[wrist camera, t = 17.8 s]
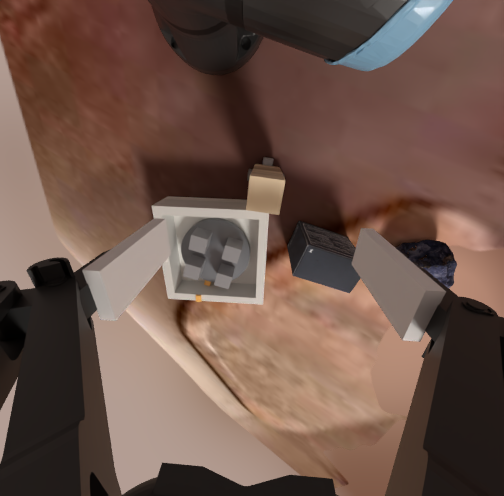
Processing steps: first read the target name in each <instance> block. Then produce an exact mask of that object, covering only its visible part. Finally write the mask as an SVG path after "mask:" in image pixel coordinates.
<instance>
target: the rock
mask: <svg viewBox="0 0 504 496" xmlns="http://www.w3.org/2000/svg"><path fill="white" fill-rule="evenodd" d="M415 246H417V249H416V250H415V251H412V250H411V251H408V250H409V249H411V248H412V247H413V248H416V247H415ZM396 249H397V250H398V251H400V252H401V253H402V254H403V255H404V256H405V257H407V258H408V259H409V260H410V261H411V262H412V263H414V264H415V265H418V266H419V267H421V268H423V269H425V270H427V271H428V272H429V273H430V274H432V275H433V276H434V278H437V279H438V280H439V281H440V283H443V284H444V285H445V286H446V287H447V288H450V287H451V286H452V285H453V284H454V272H455V268H456V266H457V263H456V261H455V260H454V255H453V253H452V252H451V250H450V249H449V247H448V246H447V244H446V243H443V242H440V241H434V240H423V241H420V242H418V243H402V244H401V245H400V246H398V247H396ZM407 252H408V253H409V254H408V253H407ZM425 255H427V258H424V259H423V260H418V259H420V258H422V257H424V256H425Z"/></svg>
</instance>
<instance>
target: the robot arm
mask: <svg viewBox="0 0 504 496" xmlns="http://www.w3.org/2000/svg"><path fill="white" fill-rule="evenodd" d="M148 1H149V2H150V3H151V5H152V8H153V11H154V15H155V18H156V21H157V23H158V26H159V28H160V30H161V32H162V34H163V36H164V38H165V39H166V41H167V42H168V44H169V45H170V47H171V48H172V49H173V50H174V52H175V53H176V54H177V55H178V56H179V57H180V58H181V59H182V60H183V61H185V62H186V63H187V64H188V65H189V66H191V67H192V68H194V69H196V70H198V71H200V72H203V73H206V74H210V75H223V74H227V73H230V72H233V71H235V70H237V69H239V68H240V67H242V66H243V65H244V64H245V63H246V62H248V60H249V59H250V58H251V57H252V56H253V55H254V53H255V52H256V50H257V49H258V47H259V45H260V43H261V41H262V39H263V37H265V38H268V39H271V40H273V41H276V42H279V43H282V44H284V45H287V46H290V47H293V48H295V49H298V50H301V51H304V52H306V53H309V54H312V55H315V56H317V57H320V58H323V59H324V61H325V62H326V63H328V64H331V65H337V64H341V65H344V66H347V67H351V68H354V69H357V70H361V71H370V70H373V69H375V68H378V67H383V66H385V65H387V64H388V63H390V62H391V61H393V60H394V59H396V58H397V57H399V56H400V55H401V54H402V53H404V52H405V51H406V50H407V49H408V48H409V47H411V46H412V45H413V44H414V43H415V42H416V41H417V40H418V39H419V38H420V37H421V36H422V35H423V34H424V33H425V32H426V31H427V30H428V29H429V28H430V27H431V25H432V24H433V23H434V22H435V21H436V20H437V19H438V18H439V17H440V15H441V14H442V13H443V12H444V11H445V10H446V8H447V7H448V6H449V5H450V4H451V2H452V1H453V0H148ZM170 255H171V251H170V245H169V238H168V232H167V225H166V219H160V218H154V219H153V220H151V221H150V222H149V223H147V224H146V225H144V226H143V227H142V228H140V229H139V230H137V231H136V232H135V233H133V234H132V235H130V236H129V237H128V238H126V239H125V240H123V241H122V242H121V243H119V244H118V245H116V246H115V247H114V248H112V249H111V250H108V251H106V252H103V253H101V254H100V255H99V256H97V257H96V258H95V259H93V260H91V261H90V262H89V263H87V264H86V265H84V266H83V267H81V268H80V269H79V270H77V271H76V272H73V270H72V268H71V265H70V262H69V260H68V259H66V258H52V259H47V260H43V261H40V262H38V263H35V264H33V265H32V266H30V267H29V268H28V269H27V272H28V274H29V276H30V278H31V280H32V282H33V284H34V286H35V288H33V289H25V290H20V289H19V287H18V286H17V284H16V283H15V281H0V410H1V408H2V406H3V404H4V402H5V400H6V398H7V396H8V394H9V392H10V391H11V389H12V387H13V385H14V383H15V381H16V379H17V377H18V380H17V386H16V390H15V396H14V402H13V406H12V411H11V416H10V422H9V427H8V432H7V438H6V443H5V448H4V453H3V457H2V461H1V464H0V496H338V495H336V494H335V489H334V483H333V479H328V478H318V477H307V476H297V475H288V476H284V477H280V478H277V479H273V480H270V481H266V482H262V483H259V484H255V485H251V486H242V485H239V484H237V483H235V482H233V481H231V480H229V479H227V478H225V477H223V476H221V475H219V474H217V473H215V472H213V471H211V470H209V469H207V468H205V467H202V466H191V465H181V464H169V463H162V465H161V468H160V471H159V475H158V477H156V478H153V479H150V480H148V481H146V482H143V483H141V484H139V485H137V486H136V487H134V488H132V489H131V490H129V491H127V492H126V493H125V494H123V495H121V490H120V487H119V484H118V481H117V477H116V473H115V468H114V462H113V455H112V449H111V441H110V434H109V428H108V421H107V414H106V407H105V400H104V393H103V386H102V379H101V373H100V366H99V359H98V352H97V345H96V338H95V332H94V325H93V320H92V318H91V315H92V314H93V313H94V312H95V311H96V310H97V312H98V314H99V317H100V320H111V321H116V320H117V319H118V318H119V317H120V316H121V314H122V313H123V312H124V311H125V310H126V308H127V307H128V306H129V305H130V304H131V302H132V301H133V300H134V299H135V297H136V296H137V295H138V294H139V293H140V291H141V290H142V289H143V288H144V286H145V285H146V284H147V283H148V282H149V280H150V279H151V278H152V277H153V276H154V274H155V273H156V272H157V271H158V269H159V268H160V267H161V266H162V265H163V263H164V262H165V261H166V260H167V259H168V257H169V256H170ZM352 266H353V267H354V269H355V270H356V272H357V273H358V275H359V276H360V278H361V279H362V281H363V282H364V284H365V285H366V287H367V288H368V290H369V291H370V293H371V294H372V296H373V297H374V299H375V300H376V302H377V303H378V305H379V306H380V308H381V309H382V311H383V312H384V314H385V315H386V317H387V318H388V320H389V321H390V323H391V324H392V326H393V327H394V328H395V330H396V331H397V333H398V334H399V336H400V338H401V339H402V340H406V341H421V339H422V337H423V335H424V333H425V331H426V332H427V333H428V335H429V336H430V337H431V338H432V339H431V340H430V342H429V344H428V346H427V348H426V350H425V351H424V353H423V355H422V357H423V358H424V361H423V364H422V368H421V372H420V375H419V379H418V382H417V385H416V389H415V392H414V396H413V399H412V403H411V406H410V410H409V413H408V417H407V420H406V424H405V428H404V431H403V434H402V438H401V442H400V445H399V449H398V452H397V455H396V459H395V463H394V466H393V470H392V473H391V477H390V480H389V484H388V487H387V491H386V494H385V496H504V318H503V317H499V316H498V315H497V313H496V312H495V311H494V310H493V309H492V308H490V307H488V306H487V305H485V304H483V303H481V302H479V301H476V300H474V299H470V298H466V297H458V296H457V295H456V294H455V293H453V292H452V291H451V290H450V289H449V288H447V287H446V286H445V285H444V284H443V283H440V281H439V280H438V279H437V278H434V276H433V275H432V274H430V273H429V272H428V271H427V270H425V269H423V268H421V267H419V266H418V265H415V264H414V263H412V262H411V261H410V260H409V259H408V258H407V257H405V256H404V255H403V254H402V253H401V252H400V251H398V250H397V249H396V248H395V247H394V246H393V245H391V244H390V243H389V242H388V241H387V240H386V239H384V238H383V237H382V236H381V235H380V234H379V233H377V232H376V231H375V230H374V229H368V228H361V231H360V234H359V238H358V242H357V246H356V249H355V253H354V257H353V261H352Z"/></svg>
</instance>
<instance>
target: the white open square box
mask: <svg viewBox="0 0 504 496" xmlns="http://www.w3.org/2000/svg"><path fill="white" fill-rule="evenodd" d="M246 205H247V200H242V199H219V198H196V197H173V196H167V197H166V198H164V199H162V200H161V201H159V202H157V203H155V204H154V205H152V211H153V217H154V218H160V219H166V225H167V232H168V238H169V245H170V251H171V255H170V256H169V257H168V259H167V260H166V261H165V262H164V263H163V265H162V267H163V272H164V278H165V283H166V289H167V295H168V299H183V300H196V302H201V301H214V302H230V303H246V304H262V305H263V296H264V281H265V266H266V250H267V235H268V220H269V213H262V212H255V211H248V210H246ZM207 218H221V219H225V220H228V221H230V222H232V223H234V224H236V225H237V226H238V227H239V228H241V229H242V231H243V232H244V233H245V235H246V236H247V238H248V240H249V243H250V259H249V263H248V266H247V268H246V269H245V271H244V272H243V273H242V274H241V275H240V276H239V277H237V278H236V279H234V280H232V281H231V284H230V287H229V289H226V288H222V287H219V286H215V285H214V283H215V282H211V284H210V286H207V285H204V283H205V280H204V279H201V278H199V280H194V279H191V278H187V277H184V276H183V274H184V269H185V262H184V260H183V257H182V253H181V244H182V240H183V238H184V236H185V234H186V233H187V232H188V231H189V229H190V228H191V227H192V226H193V225H194V224H196V223H197V222H199V221H201V220H203V219H207Z"/></svg>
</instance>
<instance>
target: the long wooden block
mask: <svg viewBox="0 0 504 496" xmlns="http://www.w3.org/2000/svg"><path fill="white" fill-rule="evenodd" d="M272 165H273V158H268V157H264V158H263V165H261V164H255V165H254V168H253V169H249V170H248V177H247V181H249V188H248V196H247V205H246V210H248V211H255V212H262V213H269V214H277V215H279V213H280V207H281V202H282V197H283V191H284V186H285V178H284V174H283V173H282V171H281V169H280V167H275V166H272Z"/></svg>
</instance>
